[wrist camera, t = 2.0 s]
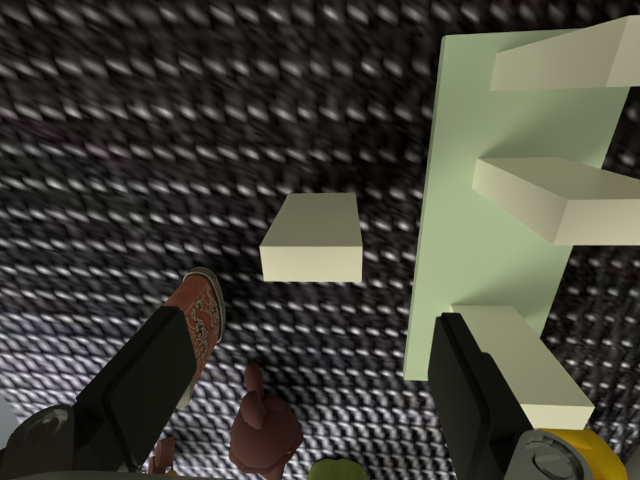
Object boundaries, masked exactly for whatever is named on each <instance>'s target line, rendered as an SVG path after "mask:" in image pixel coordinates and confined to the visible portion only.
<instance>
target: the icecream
mask: <svg viewBox="0 0 640 480" xmlns="http://www.w3.org/2000/svg"><path fill="white" fill-rule="evenodd" d="M245 384H246V387H247V390H248V393H247V394H246V395H245V396H244V397H243V399H242V402H241V405H240V409H239V411H238V413H237V416H236V418H235V420H234V423H233V425H232V428H231V432H230V434H231V442H230V452H229V459H230V460H231V461H232V462H233V463H234V464H235V465H236V466H237V467H238V469H239V470H240V471H242V472H244V473H259V474H260V475H262V476H263V477H264V478H265V479H267V480H281V479H282V475H283V471H284V467H285V463H287V462H288V461H289V460H290V459H291V458H292V456H293V455H294V453H295V451H296V449H297V448H298V447H299V446H300V445H301V444H302V442H303V440H304V438H303V433H302V430H301V427H302V426H301V423H300V422H299V421H297V420H296V418H295V416H294V414H293V413H292V411H291V409H290V404H288V403H287V402H285V401H284V400H283V399H282V398H279V397H276V396H273V395H270V394H264V387H263V379H262V374H261V371H260V368H259V365H258V364H257V362H255V361H254V362H251V363H249V364H248V365H247V367H246V369H245Z"/></svg>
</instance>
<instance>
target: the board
mask: <svg viewBox="0 0 640 480" xmlns="http://www.w3.org/2000/svg"><path fill="white" fill-rule="evenodd" d="M582 29H584V28H582ZM577 30H580V29H562V30H543V31H523V32H503V33H483V34H463V35H446V36H444V37H443V38H442V42H441V51H440V59H439V68H438V77H437V85H436V94H435V102H434V111H433V119H432V128H431V136H430V145H429V154H428V162H427V171H426V179H425V188H424V196H423V205H422V213H421V222H420V230H419V239H418V248H417V256H416V265H415V273H414V282H413V290H412V299H411V307H410V316H409V325H408V333H407V342H406V350H405V359H404V367H403V376H404V380H425V381H428V376H427V373H428V365H429V359H430V352H431V346H432V339H433V332H434V326H435V319H436V317H437V316H441V314H442V313H443V312H449V308H450V305H497V306H513V307H514V308H515V309H516V310H517V312H518V313H519V314H520V315H521V317H522V318H523V319H524V320H525V321H526V323H527V324H528V325H529V326H530V328H531V329H532V330H533V331H534V332H535V334H536V335H537V336H538V337H539V339H540V336H541V333H542V330H543V328H544V325H545V322H546V319H547V316H548V314H549V311H550V308H551V305H552V303H553V300H554V297H555V294H556V292H557V289H558V286H559V283H560V280H561V278H562V275H563V272H564V269H565V267H566V264H567V261H568V258H569V256H570V253H571V250H572V247H573V245H553V244H551V243H550V242H548V241H547V240H545V239H544V238H543V237H541V236H540V235H538V234H537V233H535V232H534V231H533V230H531V229H530V228H528V227H527V226H526V225H524V224H523V223H521V222H520V221H518V220H517V219H516V218H514V217H513V216H511V215H510V214H508V213H507V212H506V211H504V210H503V209H501V208H500V207H499V206H497V205H496V204H494V203H493V202H491V201H490V200H489V199H487V198H486V197H484V196H483V195H481V194H480V193H479V192H477V191H476V190H474V189H473V188H472V184H473V179H474V173H475V168H476V162H477V158H519V157H559V158H563V159H566V160H570V161H574V162H577V163H581V164H584V165H588V166H591V167H595V168H599V169H601V167H602V164H603V161H604V159H605V156H606V153H607V150H608V148H609V145H610V142H611V139H612V136H613V134H614V131H615V128H616V125H617V123H618V120H619V117H620V114H621V112H622V109H623V106H624V103H625V100H626V98H627V95H628V92H629V89H630V87H631V86H627V87H599V88H572V89H544V90H517V91H490V87H491V81H492V76H493V71H494V65H495V60H496V54H497V53H499V52H503V51H506V50H510V49H513V48H517V47H520V46H524V45H527V44H531V43H534V42H538V41H542V40H545V39H549V38H552V37H556V36H559V35H563V34H566V33H570V32H573V31H577Z"/></svg>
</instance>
